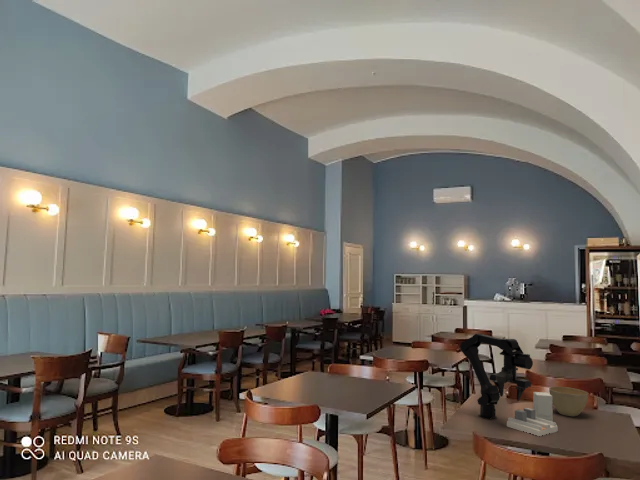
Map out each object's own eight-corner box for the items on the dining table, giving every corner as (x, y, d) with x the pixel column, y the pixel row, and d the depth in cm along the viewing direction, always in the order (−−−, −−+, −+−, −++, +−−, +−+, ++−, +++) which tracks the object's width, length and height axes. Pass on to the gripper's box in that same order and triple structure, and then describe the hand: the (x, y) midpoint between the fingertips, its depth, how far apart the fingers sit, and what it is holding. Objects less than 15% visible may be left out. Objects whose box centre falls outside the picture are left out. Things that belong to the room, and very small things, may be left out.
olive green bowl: (588, 421, 234) (588, 396, 235) (547, 415, 243) (547, 391, 244) (588, 413, 250) (588, 389, 251) (550, 407, 259) (550, 384, 260)
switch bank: (506, 426, 222) (506, 417, 222) (525, 421, 230) (525, 413, 231) (539, 436, 209) (539, 427, 209) (557, 431, 217) (557, 422, 217)
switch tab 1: (514, 421, 221) (514, 410, 222) (518, 420, 223) (518, 409, 224) (522, 423, 218) (522, 412, 218) (526, 422, 220) (526, 411, 220)
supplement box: (552, 422, 231) (552, 396, 232) (536, 421, 232) (536, 394, 233) (548, 418, 238) (548, 392, 239) (533, 416, 239) (533, 391, 240)
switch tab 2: (523, 418, 225) (523, 408, 226) (527, 417, 227) (527, 407, 227) (531, 421, 222) (531, 410, 222) (535, 420, 224) (535, 409, 224)
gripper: (482, 363, 230) (482, 396, 229) (518, 370, 215) (517, 405, 214) (496, 361, 237) (496, 393, 236) (531, 368, 221) (531, 402, 220)
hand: (509, 398), depth 226 cm, fingers open, 8 cm apart
